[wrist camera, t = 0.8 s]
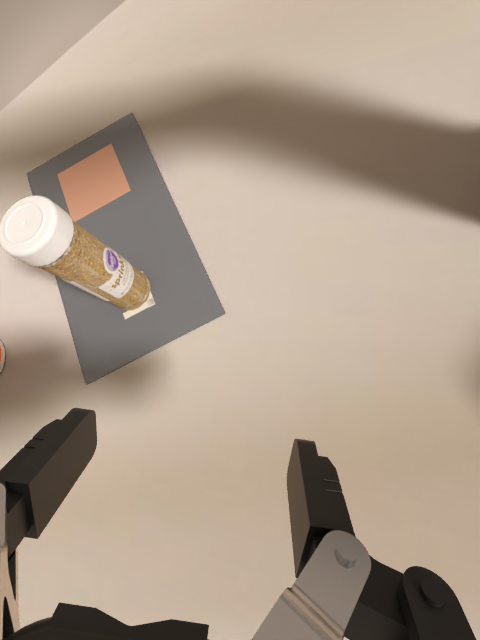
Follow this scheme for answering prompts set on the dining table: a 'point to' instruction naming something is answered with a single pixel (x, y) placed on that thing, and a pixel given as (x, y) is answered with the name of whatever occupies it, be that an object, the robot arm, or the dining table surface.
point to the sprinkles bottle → (70, 252)
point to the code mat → (126, 247)
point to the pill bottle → (2, 355)
